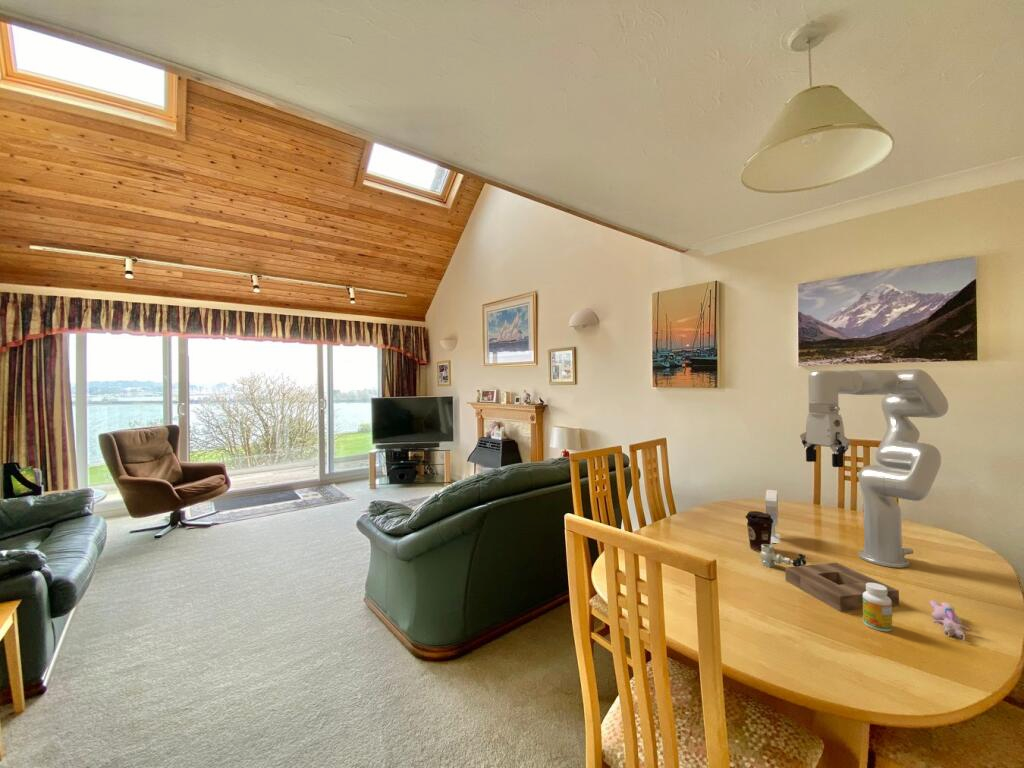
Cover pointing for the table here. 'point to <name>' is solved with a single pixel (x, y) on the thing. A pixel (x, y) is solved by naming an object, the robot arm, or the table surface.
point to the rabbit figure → (948, 619)
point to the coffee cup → (759, 529)
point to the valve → (778, 557)
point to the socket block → (835, 585)
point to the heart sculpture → (773, 512)
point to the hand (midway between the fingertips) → (824, 464)
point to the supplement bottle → (877, 607)
